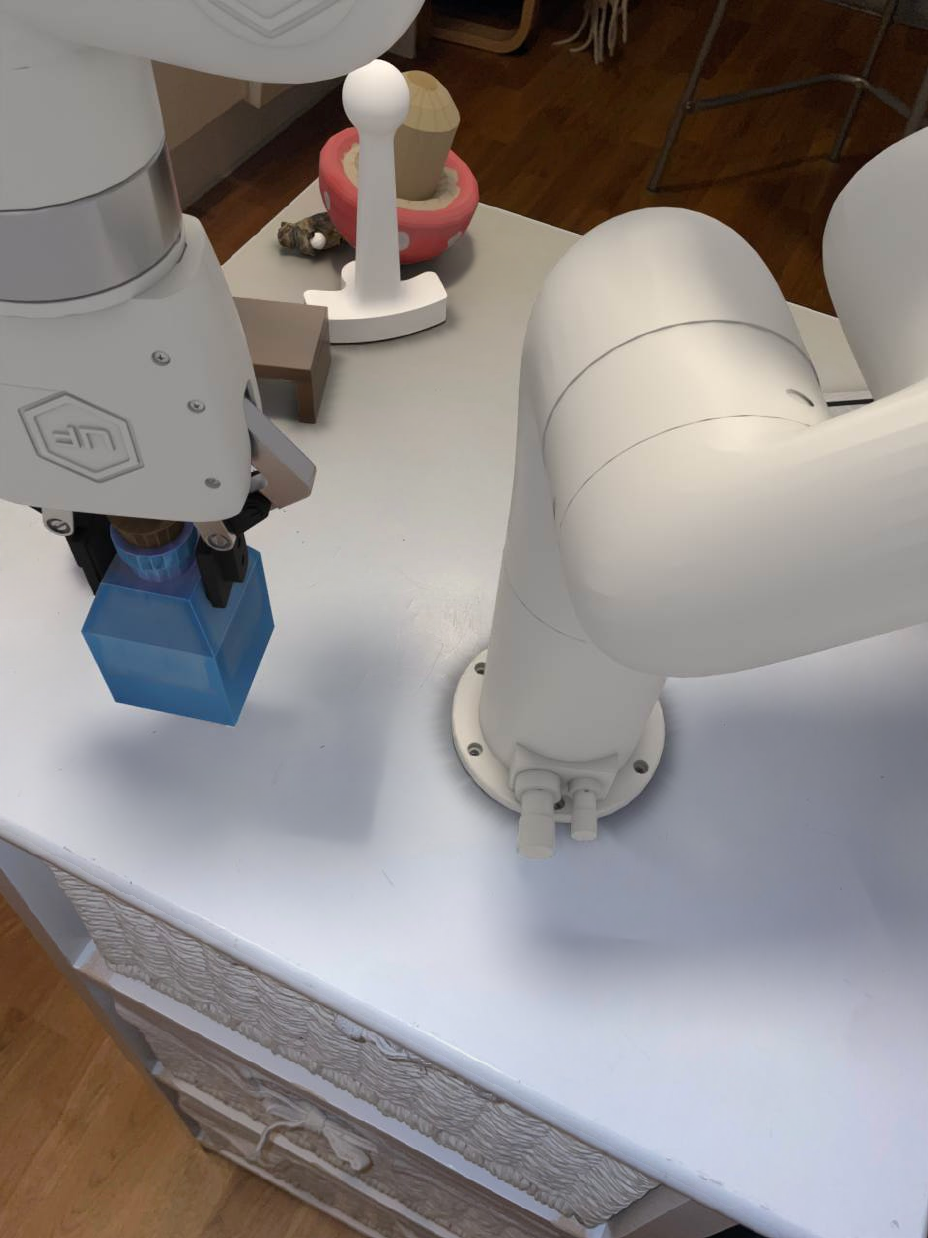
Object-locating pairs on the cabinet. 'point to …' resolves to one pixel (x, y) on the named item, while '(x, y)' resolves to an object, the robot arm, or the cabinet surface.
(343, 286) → the joystick
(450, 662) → the cabinet surface
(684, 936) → the cabinet surface
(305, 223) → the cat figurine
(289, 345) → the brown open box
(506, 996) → the cabinet surface
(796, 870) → the cabinet surface
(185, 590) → the perfume bottle
